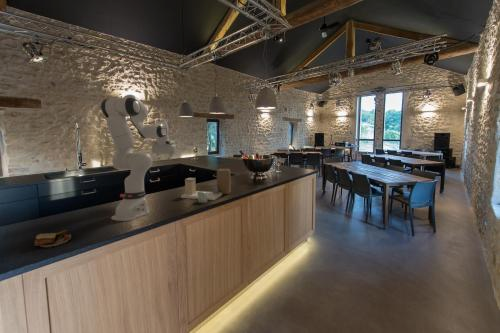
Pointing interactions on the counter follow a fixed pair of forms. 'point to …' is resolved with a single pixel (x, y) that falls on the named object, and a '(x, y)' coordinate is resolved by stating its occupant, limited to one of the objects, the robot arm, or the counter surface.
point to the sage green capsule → (202, 196)
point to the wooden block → (224, 181)
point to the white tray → (195, 196)
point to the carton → (190, 185)
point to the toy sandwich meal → (51, 239)
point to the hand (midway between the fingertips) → (164, 159)
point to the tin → (215, 190)
